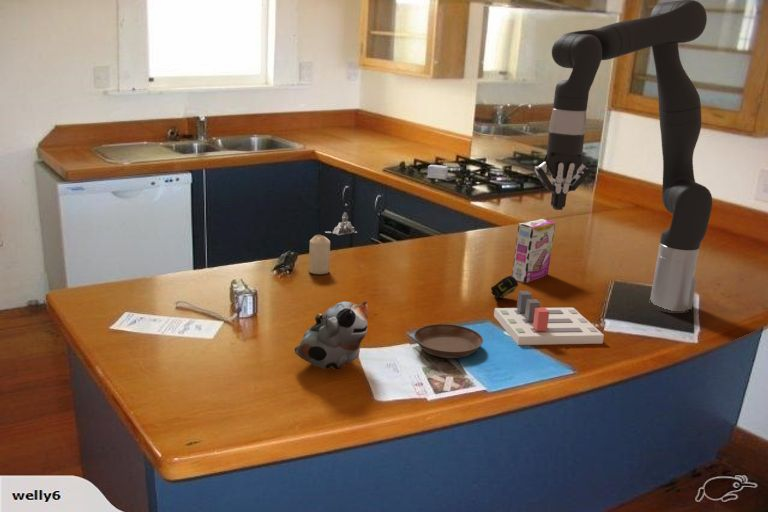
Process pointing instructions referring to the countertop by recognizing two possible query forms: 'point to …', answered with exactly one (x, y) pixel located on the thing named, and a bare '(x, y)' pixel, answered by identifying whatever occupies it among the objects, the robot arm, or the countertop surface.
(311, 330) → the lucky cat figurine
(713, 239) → the countertop surface
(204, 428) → the countertop surface
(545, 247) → the candy bar box
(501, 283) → the tape measure
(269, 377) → the countertop surface
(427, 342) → the saucer
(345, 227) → the grey stone figurine
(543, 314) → the block
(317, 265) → the candle
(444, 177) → the medicine box
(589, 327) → the breaker panel
